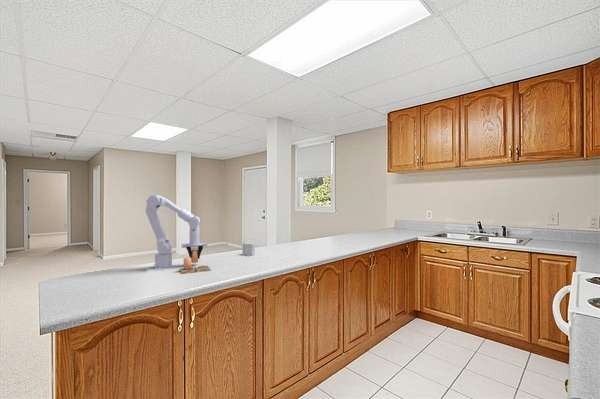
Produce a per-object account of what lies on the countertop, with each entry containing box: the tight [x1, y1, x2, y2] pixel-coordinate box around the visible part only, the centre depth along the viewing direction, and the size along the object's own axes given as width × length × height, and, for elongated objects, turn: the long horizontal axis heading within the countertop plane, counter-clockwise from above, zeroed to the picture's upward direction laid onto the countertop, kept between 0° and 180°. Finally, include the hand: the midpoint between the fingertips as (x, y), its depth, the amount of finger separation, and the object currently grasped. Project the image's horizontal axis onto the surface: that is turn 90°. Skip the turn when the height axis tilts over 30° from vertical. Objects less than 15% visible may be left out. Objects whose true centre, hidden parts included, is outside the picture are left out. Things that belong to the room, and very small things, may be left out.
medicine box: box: [241, 242, 256, 257], centre depth 206 cm, size 8×4×9 cm, turn 71°
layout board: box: [179, 264, 212, 275], centre depth 162 cm, size 16×12×2 cm
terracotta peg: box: [191, 249, 199, 264], centre depth 172 cm, size 4×4×7 cm
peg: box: [183, 257, 192, 271], centre depth 160 cm, size 4×4×7 cm
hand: (194, 258), depth 172 cm, fingers closed on terracotta peg, 4 cm apart
